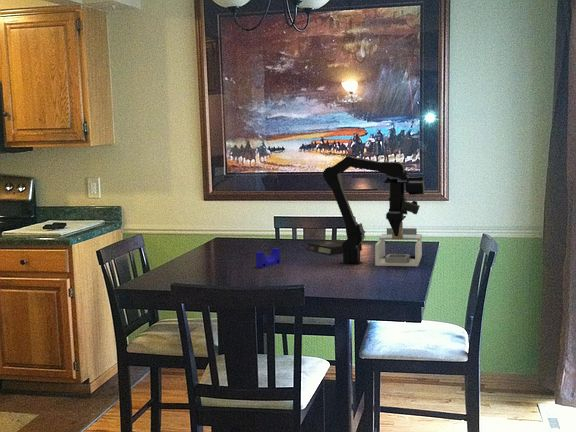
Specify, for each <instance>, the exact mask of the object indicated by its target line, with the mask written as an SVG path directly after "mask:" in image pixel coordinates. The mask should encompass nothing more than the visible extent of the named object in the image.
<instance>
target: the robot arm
mask: <svg viewBox="0 0 576 432" xmlns="http://www.w3.org/2000/svg"><path fill="white" fill-rule="evenodd" d="M350 167H352V168H358V169H364V170H368V171H374V172H379V173H382V174H384V175H386V176H387V178H386V179H385V180H384V181H383V183H384V184H388V187H389V188H388V189H389V190H388V191H389V193H388V194H389V196H388V203H389V205H388V207H389V208H388V211H387V212H386V214H385V220H387V221H388V223H389V225H390V228H392V230H393V232H394V235H395V236H398V234H399V228H400V223H401V222H403V221H404V220H405V219H406V217H407V215H408V212H409V213H412V214H413V215H417V214H418V213H419V210H420V207H421V206H420V205H419V204H418V201H416V200H413V201H412V202H411V201H407V198H406V196H405V192H406V193H408V195H409V196H416V195H417V196H419V195H420V196H422V195H423V196H424V195H425V180H424V176H418V177H416V176H415V177H412V176H411V177H410V176H409V174H408V172H406V167H405V165H404V163H402V162H401V161H378V160H373V159H366V158H360V157H355V156H352V155H348V156H345V157H344V158H343V159H342V160H340V161H339V162H337V163H336V164H334V165H332V166H328V167H325V169H324V170H323V171H322V177H323V179H324V181H325V182H326V184H327V186H329V188H330V189H331V191H332V192H333V193H332V194H333V195H334V198H335V201H336V204H337V206H338V209H339V213H340V214H341V217H342V219H343V222H344V225H345V234H346V238H347V239H346V240H344V241H345V242H344V243H343V244H342V247H343V253H342V261H340V262H339V263H340V264H344V265H352V266H353V265H359V264H362V263H364V262H363V261H361V251H360V247H358V246H359V245H360V243H362V242H363V241H364V240H365V237H366V235H365V233H366V231H365V230H364V226H363V223H362V222H360V223H358V221H357V220H356V219H355V216H354V213H353V211H352V208H351V205H350V202H349V200H348V198H347V195H346V193H345V190H344V187H343V179H342V174H343V173H344V172H345V171H347V170H349V168H350ZM391 177H392V178H391Z"/></svg>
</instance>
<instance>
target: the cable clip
mask: <svg viewBox="0 0 576 432" xmlns="http://www.w3.org/2000/svg"><path fill="white" fill-rule="evenodd" d="M280 263H281V248H279V247H272V248H271V251H270V255H266V253H265V251H256V252H255V268H257V269H258V268H259V269H265V268H268V267H271V266H274V265H278V264H280Z"/></svg>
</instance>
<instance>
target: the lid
mask: <svg viewBox="0 0 576 432" xmlns="http://www.w3.org/2000/svg"><path fill="white" fill-rule="evenodd" d="M417 232H418V231H417V228H416V227H411V228H409V227H405V228H404V227H403V239H401V240H402V241H417V240H420V239H421V237H423V235H422V233H417ZM379 240H385V241H386V240H387V241H388V240H389V241H395V240H394V239H392V228H391V227H389V228H388V227H387V228H386V233H381V234H380V236H379V237H378V241H379ZM401 240H400V241H401Z"/></svg>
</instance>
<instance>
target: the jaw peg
mask: <svg viewBox="0 0 576 432" xmlns="http://www.w3.org/2000/svg"><path fill="white" fill-rule="evenodd" d="M403 225H404V224H403V221H402V222H401V223H400V228H399V234H398V236H395V235H394V232H393V230H392V239H394V240H393V241H395V240H396V241H401V239H403V228H404V227H403Z"/></svg>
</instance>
